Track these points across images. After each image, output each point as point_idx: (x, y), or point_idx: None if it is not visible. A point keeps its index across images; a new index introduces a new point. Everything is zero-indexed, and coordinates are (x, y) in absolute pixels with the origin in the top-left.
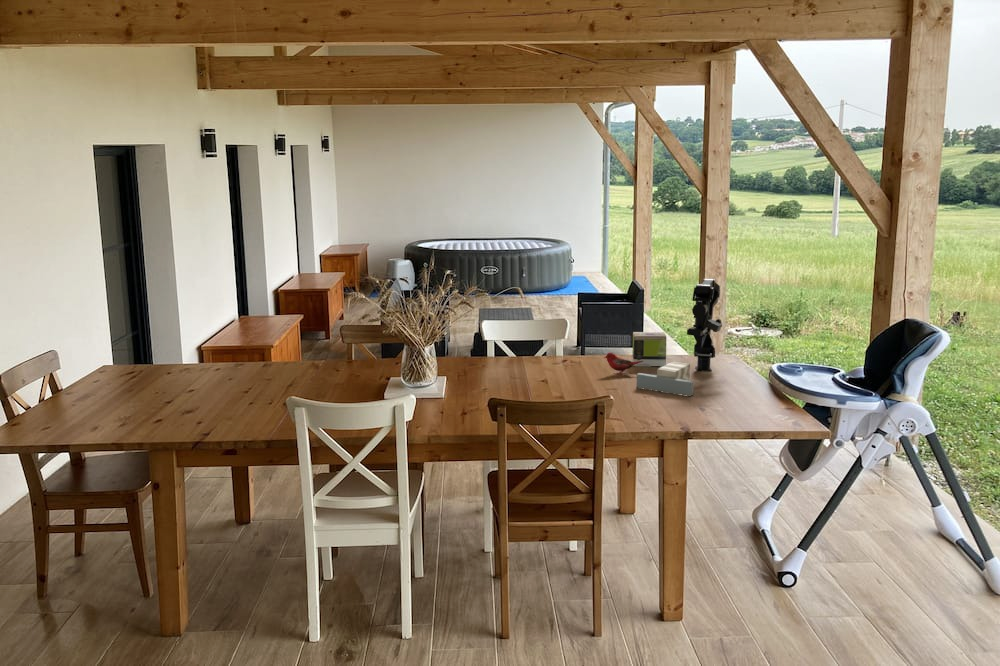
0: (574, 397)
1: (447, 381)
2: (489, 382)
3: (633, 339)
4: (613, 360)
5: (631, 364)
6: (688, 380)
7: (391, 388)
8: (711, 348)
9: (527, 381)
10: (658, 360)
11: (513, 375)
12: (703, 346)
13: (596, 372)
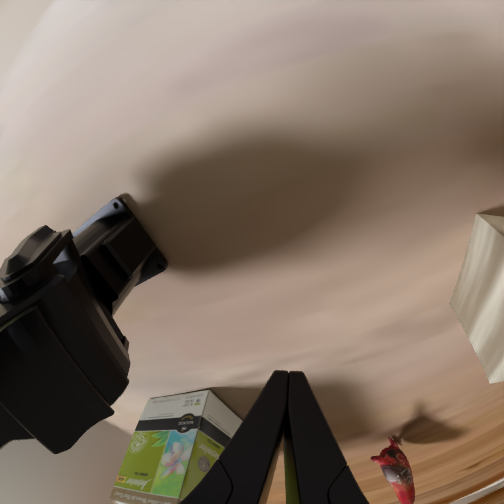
0: None
1: (476, 491)
2: (481, 479)
3: None
4: (412, 483)
5: (391, 457)
6: (496, 224)
7: (501, 487)
8: (38, 280)
9: (476, 470)
10: (223, 428)
11: (440, 490)
12: (78, 354)
13: None
